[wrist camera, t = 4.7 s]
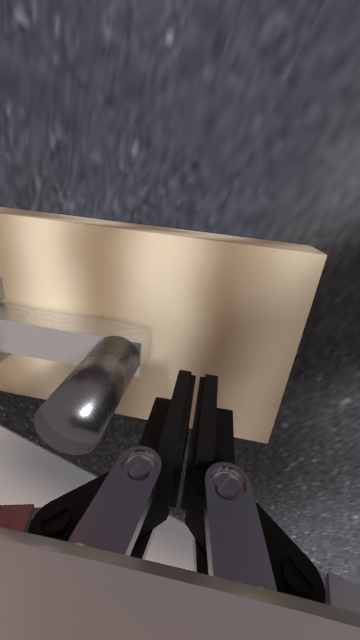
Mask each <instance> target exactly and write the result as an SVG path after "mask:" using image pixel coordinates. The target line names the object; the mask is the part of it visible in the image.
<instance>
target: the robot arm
mask: <svg viewBox="0 0 360 640" xmlns="http://www.w3.org/2000/svg"><path fill="white" fill-rule="evenodd" d="M191 374H192V372H191V371H185V370H179V373H178V376H177V380H176V384H175V387H174V391H173V394H172V398H171V399H166V398H160V397H156V399H155V401H154V404H153V407H152V410H151V412H150V415H149V418H148V421H147V424H146V426H145V429H144V432H143V435H142V438H141V441H140V443H139V446H134V447H131V448H128V449H127V450H125V451H124V452H123V453H122V454H121V455H120V456H119V458H118V459H117V461H116V463H115V464H114V466H113V467H112V469H111V471H110V472H108V473H106V474H104V475H102V476H100V477H98V478H96V479H94V480H92V481H90V482H88V483H86V484H84V485H82V486H80V487H78V488H76V489H74V490H72V491H70V492H68V493H66V494H64V495H63V496H61V497H59V498H57V499H55V500H53V501H51V502H49V503H48V504H46V505H45V506H43V507H42V508H34V505H33V504H32V505H31V504H28V505H0V640H360V586H358V585H356V584H354V583H352V582H350V581H348V580H346V579H343V578H341V577H339V576H337V575H335V574H333V573H331V572H329V571H328V573H327V575H326V574H324V573H322V572H320V571H318V570H317V568H316V567H315V566H314V564H313V563H312V562H311V560H310V559H309V558H308V557H307V556H306V555H305V554H304V553H303V552H302V551H301V550H300V549H299V548H298V546H297V545H296V544H295V543H294V542H293V541H292V540H291V539H290V538H289V537H288V536H287V535H286V534H285V533H284V531H283V530H282V529H281V528H280V527H279V526H278V525H277V524H276V523H275V522H274V521H273V520H272V519H271V517H270V516H269V515H268V514H267V513H266V512H265V511H264V510H263V509H262V508H261V507H260V506H259V505H258V504H257V502H256V501H255V498H254V494H253V490H252V486H251V483H250V480H249V478H248V476H247V475H246V473H245V472H244V471H243V470H242V469H241V468H239V467H238V466H236V465H235V457H234V429H233V411H232V410H228V409H222V408H217V390H218V376H215V375H209V374H205V377H201V376H200V380H199V387H198V394H197V400H196V407H195V414H194V420H193V427H192V434H191V440H190V447H189V454H188V461H187V468H186V475H185V481H184V488H183V495H182V502H181V509H182V510H186V517H185V521H186V522H185V524H186V525H187V527H188V528H189V529H190V531H191V533H192V534H193V536H194V538H193V556H194V571H190V570H185V569H181V568H177V567H173V566H168V565H164V564H160V563H156V562H151V561H147V560H145V558H146V555H147V552H148V549H149V547H150V544H151V541H152V538H153V535H154V532H155V527H156V526H158V525H159V524H161V523H162V522H163V521H165V520H166V519H167V517H168V514H169V508H170V507H173V508H176V502H177V496H178V490H179V484H180V478H181V472H182V466H183V459H184V453H185V447H186V441H187V435H188V429H189V422H190V415H191V408H192V401H193V394H194V387H195V380H196V376H195V375H191Z"/></svg>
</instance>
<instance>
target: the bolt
mask: <svg viewBox="0 0 360 640" xmlns="http://www.w3.org/2000/svg"><path fill="white" fill-rule="evenodd" d="M150 340H151V327H150V326H144V325H138V324H131V323H125V322H119V321H113V320H107V319H101V318H95V317H88V316H82V315H76V314H70V313H64V312H58V311H52V310H45V309H39V308H33V307H27V306H21V305H15V304H9V303H2V302H0V352H6V353H11V354H17V355H22V356H28V357H33V358H39V359H44V360H49V361H55V362H60V363H66V364H71V365H77V367H76V368H75V369H74V370H73V371H72V372H71V373H70V374H69V375H68V376H67V378H66V379H65V380H64V381H63V382H62V383H61V384H60V385H59V386H58V387H57V389H56V390H55V391H54V392H53V393H52V394H51V395H50V396H49V397H48V398H47V400H46V401H45V402H44V403H43V404H42V405H41V406H40V407H39V408H38V410H37V411H36V413H35V415H34V425H35V428H36V431H37V433H38V434H39V436H40V437H41V438H42V440H43V441H44V442H45V443H47V444H48V445H49V446H50V447H52V448H54V449H55V450H57V451H59V452H62V453H65V454H69V455H84V454H87V453H89V452H91V451H92V450H94V449H95V447H96V446H97V444H98V442H99V440H100V438H101V437H102V435H103V433H104V431H105V429H106V427H107V425H108V423H109V422H110V420H111V418H112V416H113V414H114V412H115V410H116V409H117V407H118V405H119V403H120V401H121V399H122V397H123V395H124V394H125V392H126V390H127V388H128V386H129V384H130V382H131V381H132V379H133V377H134V376H137V377H140V375H141V373H142V371H143V369H144V367H145V365H146V363H147V361H148V359H149V355H150Z"/></svg>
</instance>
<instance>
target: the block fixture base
mask: <svg viewBox="0 0 360 640" xmlns="http://www.w3.org/2000/svg"><path fill="white" fill-rule="evenodd" d="M326 258H327V255H326V254H324V253H323V252H321V251H319V250H317V249H316V248H314V247H312V246H310V245H302V244H294V243H286V242H278V241H270V240H262V239H254V238H246V237H238V236H230V235H222V234H214V233H206V232H198V231H190V230H182V229H174V228H166V227H158V226H149V225H141V224H133V223H125V222H117V221H109V220H101V219H93V218H85V217H77V216H69V215H61V214H53V213H45V212H37V211H29V210H21V209H13V208H5V207H0V302H2V303H9V304H15V305H21V306H27V307H33V308H39V309H45V310H52V311H58V312H64V313H70V314H76V315H82V316H88V317H95V318H101V319H107V320H113V321H119V322H125V323H131V324H138V325H144V326H150V327H151V340H150V355H149V359H148V361H147V363H146V365H145V367H144V369H143V371H142V373H141V375H140V377H137V376H134V377H133V379H132V381H131V382H130V384H129V386H128V388H127V390H126V392H125V394H124V395H123V397H122V399H121V401H120V403H119V405H118V407H117V409H116V410H115V412H114V413H115V414H120V415H125V416H130V417H135V418H140V419H145V420H148V418H149V415H150V412H151V410H152V407H153V404H154V401H155V399H156V397H160V398H166V399H171V398H172V394H173V391H174V387H175V384H176V380H177V376H178V373H179V370H185V371H191V372H192V374H191V375H195V376H196V380H195V387H194V394H193V401H192V408H191V415H190V422H189V428H190V429H192V427H193V420H194V414H195V407H196V400H197V394H198V387H199V380H200V376H201V377H205V374H209V375H215V376H218V390H217V408H222V409H228V410H232V411H233V429H234V437H236V438H241V439H246V440H251V441H256V442H261V443H266V444H268V441H269V438H270V435H271V432H272V429H273V425H274V422H275V419H276V416H277V413H278V410H279V406H280V403H281V400H282V397H283V394H284V391H285V387H286V384H287V381H288V378H289V375H290V372H291V369H292V365H293V362H294V359H295V356H296V353H297V350H298V346H299V343H300V340H301V337H302V334H303V331H304V327H305V324H306V321H307V318H308V315H309V312H310V309H311V305H312V302H313V299H314V296H315V293H316V290H317V286H318V283H319V280H320V277H321V274H322V271H323V267H324V264H325V261H326ZM76 367H77V365H71V364H66V363H60V362H55V361H49V360H44V359H39V358H33V357H28V356H22V355H17V354H11V353H6V352H0V391H4V392H9V393H14V394H19V395H24V396H29V397H34V398H39V399H44V400H47V398H48V397H49V396H50V395H51V394H52V393H53V392H54V391H55V390H56V389H57V387H58V386H59V385H60V384H61V383H62V382H63V381H64V380H65V379H66V378H67V376H68V375H69V374H70V373H71V372H72V371H73V370H74V369H75V368H76Z"/></svg>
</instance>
